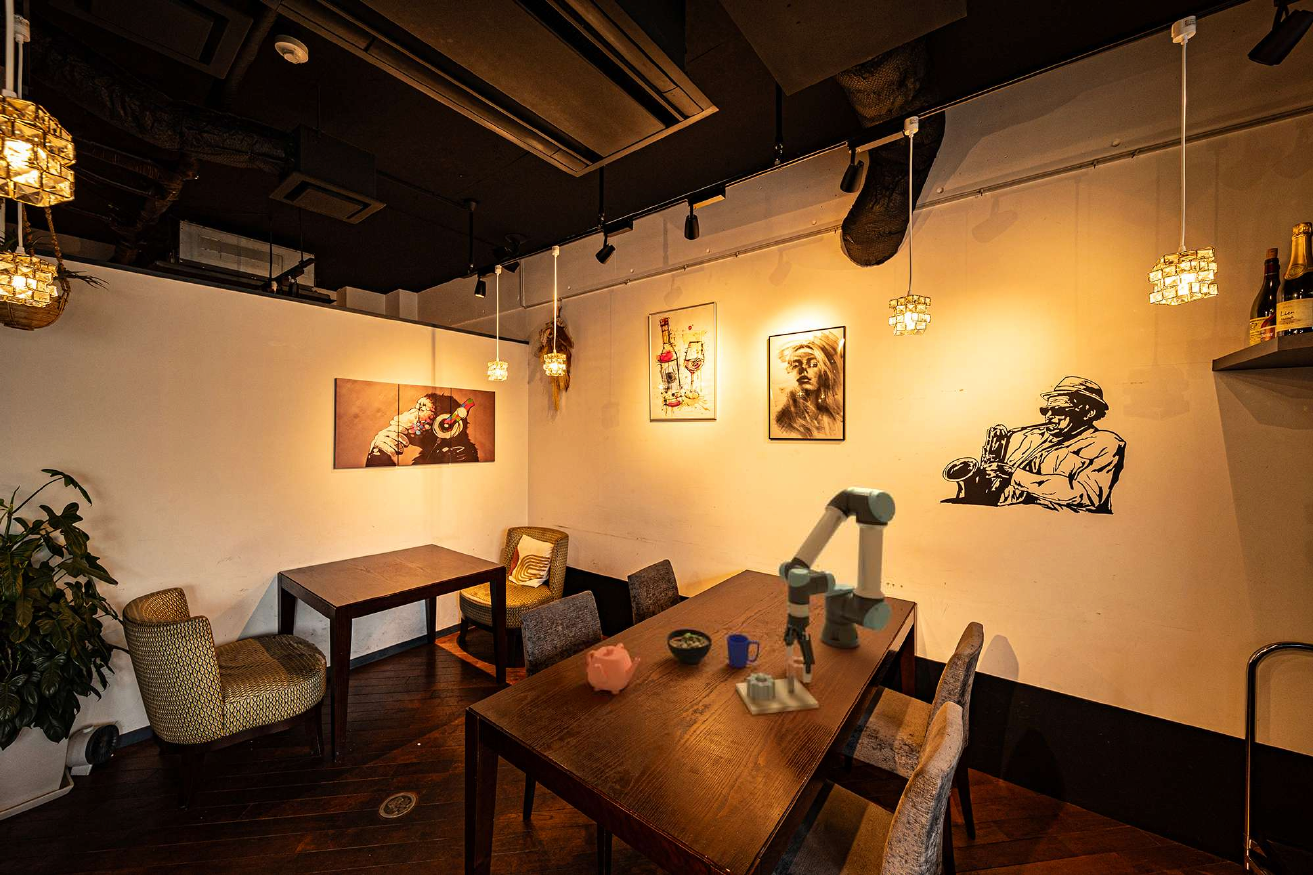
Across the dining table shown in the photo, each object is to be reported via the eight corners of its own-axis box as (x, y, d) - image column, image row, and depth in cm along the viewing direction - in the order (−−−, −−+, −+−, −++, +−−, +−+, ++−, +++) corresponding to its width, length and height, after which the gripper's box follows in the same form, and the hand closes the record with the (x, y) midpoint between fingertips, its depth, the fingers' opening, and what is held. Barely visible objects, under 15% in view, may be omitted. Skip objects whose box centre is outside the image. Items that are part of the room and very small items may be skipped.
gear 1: (761, 684, 166) (761, 669, 166) (781, 696, 159) (781, 681, 159) (741, 692, 161) (741, 677, 161) (760, 705, 154) (760, 689, 154)
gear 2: (804, 668, 180) (804, 655, 180) (816, 680, 171) (816, 666, 171) (781, 670, 179) (781, 657, 179) (792, 683, 170) (792, 668, 170)
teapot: (642, 690, 166) (641, 651, 166) (596, 704, 157) (595, 663, 157) (621, 670, 180) (621, 634, 180) (578, 682, 171) (577, 644, 171)
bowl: (681, 676, 175) (681, 648, 175) (659, 656, 190) (659, 631, 190) (720, 665, 183) (720, 639, 183) (696, 647, 198) (696, 623, 198)
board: (795, 681, 171) (795, 662, 170) (818, 707, 155) (818, 685, 155) (735, 687, 167) (735, 667, 167) (752, 714, 151) (752, 692, 151)
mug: (759, 672, 178) (759, 644, 178) (726, 669, 180) (726, 642, 180) (759, 661, 186) (759, 635, 186) (727, 658, 188) (727, 633, 188)
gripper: (774, 602, 186) (774, 657, 187) (804, 627, 162) (804, 691, 162) (792, 601, 188) (792, 655, 188) (825, 626, 163) (825, 689, 163)
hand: (797, 672), depth 175 cm, fingers open, 13 cm apart
